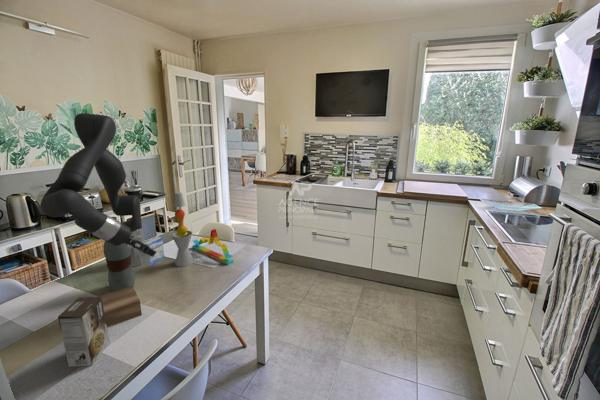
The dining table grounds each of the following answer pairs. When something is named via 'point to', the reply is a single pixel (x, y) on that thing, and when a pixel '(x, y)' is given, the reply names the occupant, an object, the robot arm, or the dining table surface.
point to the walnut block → (120, 306)
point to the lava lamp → (181, 235)
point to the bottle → (119, 266)
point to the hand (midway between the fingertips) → (150, 251)
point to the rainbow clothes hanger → (209, 252)
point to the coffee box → (84, 331)
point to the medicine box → (157, 246)
